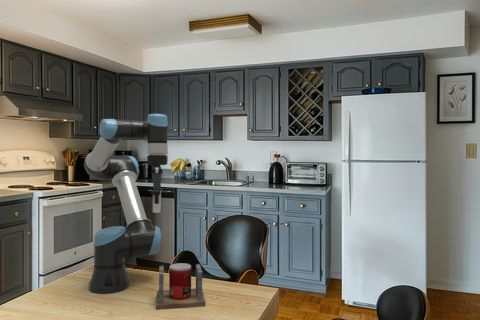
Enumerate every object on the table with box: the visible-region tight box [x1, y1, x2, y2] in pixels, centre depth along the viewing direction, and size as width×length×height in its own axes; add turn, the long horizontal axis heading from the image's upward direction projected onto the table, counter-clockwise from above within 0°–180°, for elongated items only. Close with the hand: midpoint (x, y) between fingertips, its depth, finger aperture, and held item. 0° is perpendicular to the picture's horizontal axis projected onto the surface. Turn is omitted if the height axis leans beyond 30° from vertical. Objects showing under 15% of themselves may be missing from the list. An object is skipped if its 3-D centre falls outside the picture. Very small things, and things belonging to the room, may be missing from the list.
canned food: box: [168, 262, 192, 300], centre depth 139 cm, size 8×8×11 cm
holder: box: [155, 263, 206, 311], centre depth 139 cm, size 14×17×12 cm
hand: (157, 209), depth 146 cm, fingers open, 13 cm apart
